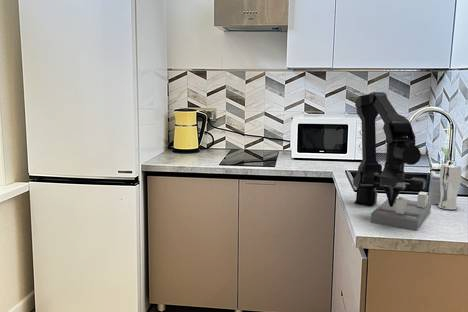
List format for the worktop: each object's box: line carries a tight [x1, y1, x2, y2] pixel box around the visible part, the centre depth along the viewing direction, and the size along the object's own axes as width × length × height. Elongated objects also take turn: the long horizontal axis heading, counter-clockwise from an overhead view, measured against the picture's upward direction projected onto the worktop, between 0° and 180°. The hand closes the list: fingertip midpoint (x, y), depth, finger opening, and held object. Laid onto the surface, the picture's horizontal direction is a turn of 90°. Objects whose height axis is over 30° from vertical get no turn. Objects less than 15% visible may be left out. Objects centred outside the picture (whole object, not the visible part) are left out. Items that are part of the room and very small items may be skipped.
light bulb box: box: [427, 170, 440, 205], centre depth 173 cm, size 11×7×11 cm, turn 160°
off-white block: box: [416, 191, 429, 208], centre depth 155 cm, size 2×4×4 cm, turn 148°
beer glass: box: [437, 164, 462, 210], centre depth 164 cm, size 7×7×15 cm
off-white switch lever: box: [396, 196, 408, 214], centre depth 147 cm, size 2×4×4 cm, turn 148°
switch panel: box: [370, 198, 432, 231], centre depth 153 cm, size 14×24×3 cm, turn 148°
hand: (391, 206), depth 149 cm, fingers closed
